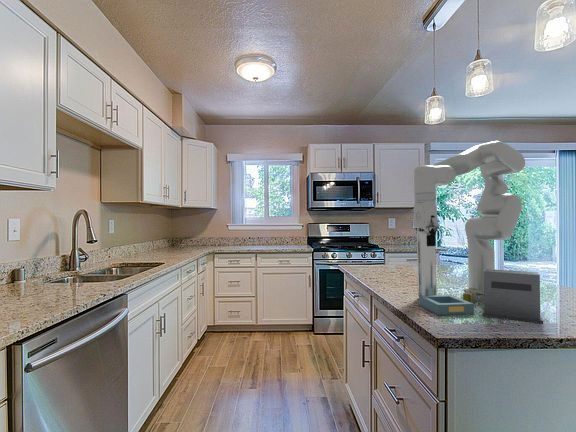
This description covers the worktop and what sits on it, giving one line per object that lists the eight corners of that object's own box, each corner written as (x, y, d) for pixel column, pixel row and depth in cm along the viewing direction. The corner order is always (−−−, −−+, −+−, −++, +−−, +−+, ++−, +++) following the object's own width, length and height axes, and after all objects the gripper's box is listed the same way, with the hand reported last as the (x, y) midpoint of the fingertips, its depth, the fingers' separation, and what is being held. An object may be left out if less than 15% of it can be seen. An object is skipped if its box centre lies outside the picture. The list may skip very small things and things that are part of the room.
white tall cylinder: (438, 298, 117) (437, 231, 117) (420, 298, 118) (418, 231, 118) (434, 294, 123) (432, 230, 123) (416, 294, 125) (415, 230, 125)
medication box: (470, 298, 124) (469, 287, 124) (478, 298, 122) (477, 288, 122) (463, 304, 115) (462, 293, 115) (471, 305, 113) (471, 294, 113)
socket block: (451, 304, 113) (451, 294, 113) (474, 314, 101) (474, 303, 101) (419, 305, 112) (418, 295, 112) (438, 316, 100) (438, 305, 100)
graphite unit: (482, 310, 106) (481, 268, 106) (539, 316, 98) (538, 271, 99) (482, 316, 99) (481, 271, 100) (543, 324, 92) (542, 275, 92)
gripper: (405, 199, 129) (406, 243, 129) (427, 197, 112) (428, 247, 112) (422, 199, 130) (423, 243, 130) (447, 196, 113) (449, 247, 113)
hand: (426, 244), depth 121 cm, fingers closed on white tall cylinder, 6 cm apart
